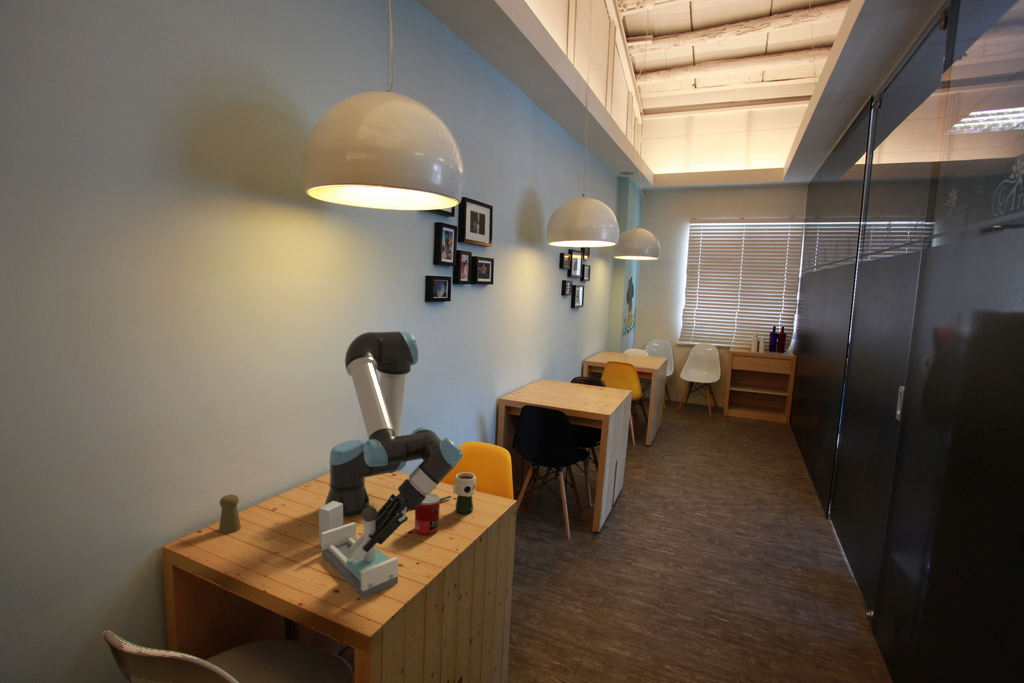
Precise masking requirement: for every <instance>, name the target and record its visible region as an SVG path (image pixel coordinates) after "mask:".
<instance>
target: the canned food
mask: <svg viewBox="0 0 1024 683" xmlns="http://www.w3.org/2000/svg"><path fill="white" fill-rule="evenodd" d="M425 496H426V497H425V499H424V500H423V501H422V503H421V504H420V505H419V506H418V507H415V508H414V509H415V510H414V530H415V532H416V533H417V534H419V535H421V536H431V535H435V534H437V532H438V531H439V528H440V508H441V507H440V506H441V505H440V504H441V501H440V498H441V497H440V496H439V495H438V494H435V493H432V492H430V494H429V495H425Z"/></svg>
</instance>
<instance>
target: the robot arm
mask: <svg viewBox="0 0 1024 683" xmlns="http://www.w3.org/2000/svg"><path fill="white" fill-rule="evenodd" d="M344 357H345V358H344V366H345V370H346V372H347V374H348V376H350V377H351V379H352V382H353V387H354V389H355V393H356V396H357V401H358V404H359V409H360V411H361V415H362V416H361V417H362V418H363V419H362V420H363V423H364V426H365V430H366V434H367V438H368V440H366V441H365V442H364V441H363V440H359V439H356V440H355V439H352V440H347V441H342V442H340V443H337V444H336V445H334V446H333V447H332V448H331V449H330V453H329V490H328V493H327V496H326V500H325V503H324V505H326V504H328V503H330V502H332V501H336V502H339V503H343V518H349V517H355V516H359V515H362V512H363V510H364V509H365V508H366V507H369V506H370V496H369V494H368V491H367V488H366V485H365V480H366V478H369V477H374V476H379V475H385V474H394V473H395V472H400V471H401V470H403V469H404V468H405V467H406V465H407V462H411V461H417V460H422V462H421V463H420V464H418V465H417V466H416V467H415V469H414V470H412V472H411V473H410V474H409V475H408V478H407V479H405V480H404V481H403V482H402V483H401V484H400V485H399V486H398V488H397V490H398V492H399V493H398V494H397V495H395V494H394V493H392V494H391V495H390V496H389V498H388V499H387V500H386V502H385V503H384V504H383V505H382V506H381V507H380V509H378V511H377V517H376V519H375V532H374V533H373V534H372V535H370V534H369V536H368V538H367V539H366V540H365V541H364V532H363V533H362V534H361V535H360V536H359V537H358V539H356V540H357V541H356V542H355V543H354V544H353V545H352V546H351V547H350V550H351V551H353V552H354V553H353V554H352V555H351V557H352V558H354V559H355V560H357V561H358V562H360V560H361V559H362V558H363V557H364V556H365V555H366V554H367V553H368V552H369V551H370V550H371V549H372V547H373V546H374V545H375V546H376V545H383V543H384V542H385V541H386V540H387V539H389V537H390V536H392V534H393V533H394V532H395V531H396V530H397V529H399V527H401V525H402V524H404V523H405V522H407V521H408V519H409V517H408V516H407V513H408V512H409V511H410V510H409V509H410V508H411V506H415V507H418V506H419V505H420V504H421V503H422V501H423V500H424V499H425V497H426V496H425V495H429V494H430V493H432V491H433V490H435V489H437V486H438V485H439V484H440V483H441V482H442V481H443V480H444V479H445V477H446V476H448V474H449V473H450V472H451V471H452V470H453V469H454V468H455V467H456V466H457V465H458V463H460V461H461V460H462V458H463V457H464V452H463V451H462V449H461V448H459V447H458V445H456V443H455V442H454V441H453V440H451V439H450V438H449V437H444V439H441V438H440V437H439V436H438V435H437V433H436V432H434V431H433V430H431V429H430V428H429V427H426V426H421V427H420V426H419V427H418V428H416V429H414V430H413V431H412V432H411V434H404V435H401V428H402V426H401V425H402V415H403V405H404V395H405V387H406V386H405V383H406V376H407V375H408V374H410V372H411V369H412V368H411V367H412V366H414V365H416V364H417V363H418V361H419V348H418V343H417V341H416V338H415V336H414V335H413V334H412V333H410V332H408V331H400V330H399V331H378V332H377V331H376V332H373V331H368V332H364V333H362V334H360V335H358V336H357V337H355V338H354V339H353V340H352V341H351V343H350V344H349V346H348V347H347V351H346V352H345V356H344ZM377 372H378V373H379V374H380V376H378V374H377ZM379 377H380V378H379Z"/></svg>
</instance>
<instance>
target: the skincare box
mask: <svg viewBox="0 0 1024 683" xmlns="http://www.w3.org/2000/svg"><path fill="white" fill-rule="evenodd" d="M343 525H344V517H343V503H339V502H336V501H332V502H330V503H328V504H326V505H325V504H323V505H322V506H321V507H318V537H319V538H318V542H319V543H318V545H319V546H321V547H322V532H325V531H328V530H331V529H334V528H337V527H340V526H343Z"/></svg>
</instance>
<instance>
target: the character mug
mask: <svg viewBox="0 0 1024 683" xmlns="http://www.w3.org/2000/svg"><path fill="white" fill-rule="evenodd" d="M454 478H455V479H454V480H455V481H454V482H455V483H454V484H453V489H452V490H453V494H456V495H457V497H456V504H455V510H456V511H457V512H459V513H460V514H461V513H462V514H468V513H469V514H470V511H471V512H473V510H474V502H473V495H474V494H475V492H476V485H477V477H476V475H475V474H474V473H472V472H467V471H463V472H459V473H457V474H456V475H455V477H454Z"/></svg>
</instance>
